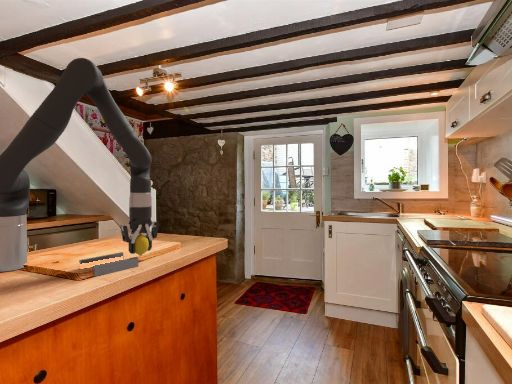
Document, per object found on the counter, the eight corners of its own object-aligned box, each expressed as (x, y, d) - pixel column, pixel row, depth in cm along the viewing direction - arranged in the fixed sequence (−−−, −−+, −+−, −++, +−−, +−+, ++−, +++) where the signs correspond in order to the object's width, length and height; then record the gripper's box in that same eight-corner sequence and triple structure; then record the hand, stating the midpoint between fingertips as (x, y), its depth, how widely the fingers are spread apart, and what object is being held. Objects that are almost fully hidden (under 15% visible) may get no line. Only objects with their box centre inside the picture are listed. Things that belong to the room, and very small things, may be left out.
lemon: (138, 253, 108) (138, 232, 108) (151, 254, 107) (151, 233, 107) (128, 257, 103) (128, 234, 103) (142, 258, 102) (143, 235, 102)
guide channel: (79, 269, 94) (79, 260, 94) (121, 260, 105) (121, 252, 105) (94, 276, 87) (94, 266, 87) (138, 266, 98) (138, 257, 98)
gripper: (152, 203, 112) (152, 247, 113) (115, 205, 101) (115, 253, 102) (164, 204, 108) (163, 250, 108) (126, 207, 97) (126, 257, 97)
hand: (140, 251), depth 105 cm, fingers closed on lemon, 5 cm apart
